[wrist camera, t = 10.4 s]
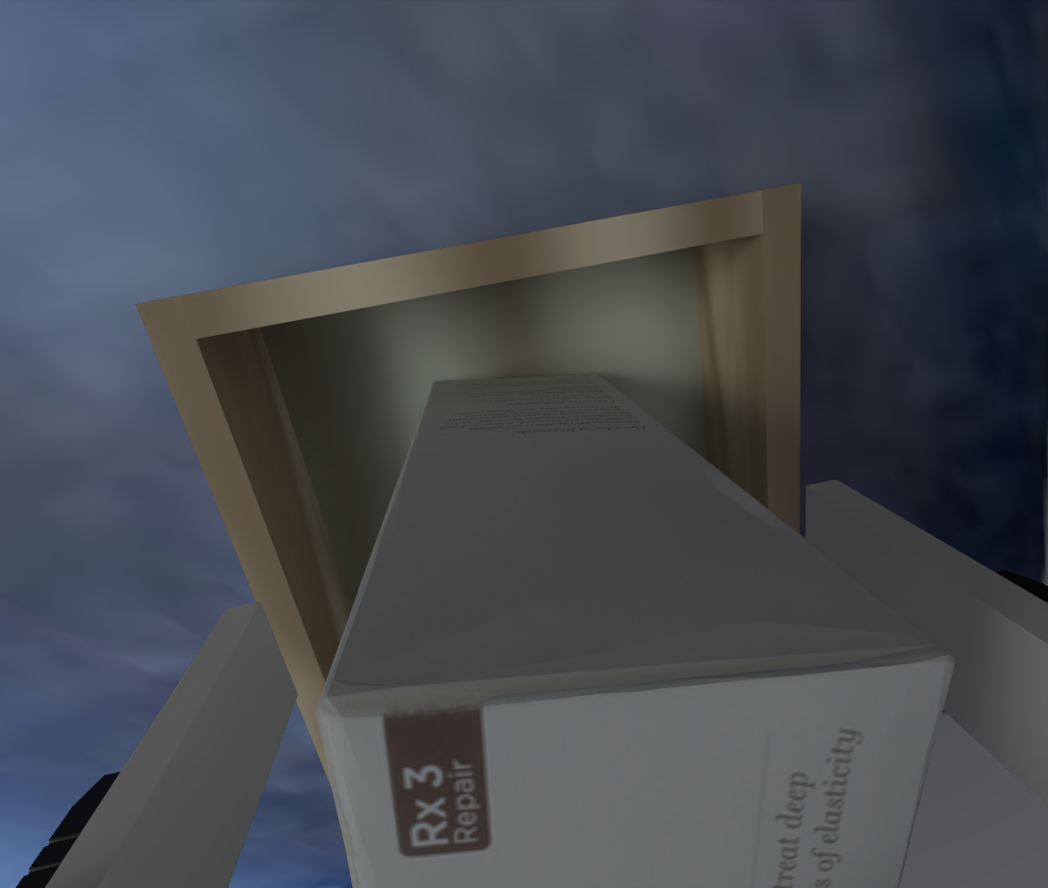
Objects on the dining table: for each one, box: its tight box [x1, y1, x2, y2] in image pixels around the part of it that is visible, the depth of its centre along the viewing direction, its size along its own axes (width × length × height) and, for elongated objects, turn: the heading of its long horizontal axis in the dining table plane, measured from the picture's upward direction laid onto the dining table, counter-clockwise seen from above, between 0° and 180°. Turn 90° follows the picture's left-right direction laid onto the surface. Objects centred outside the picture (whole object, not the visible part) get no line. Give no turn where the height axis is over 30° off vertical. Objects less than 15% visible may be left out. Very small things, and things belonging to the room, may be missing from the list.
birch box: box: [135, 183, 801, 787], centre depth 18 cm, size 16×16×5 cm
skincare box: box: [316, 373, 955, 888], centre depth 13 cm, size 8×6×15 cm
